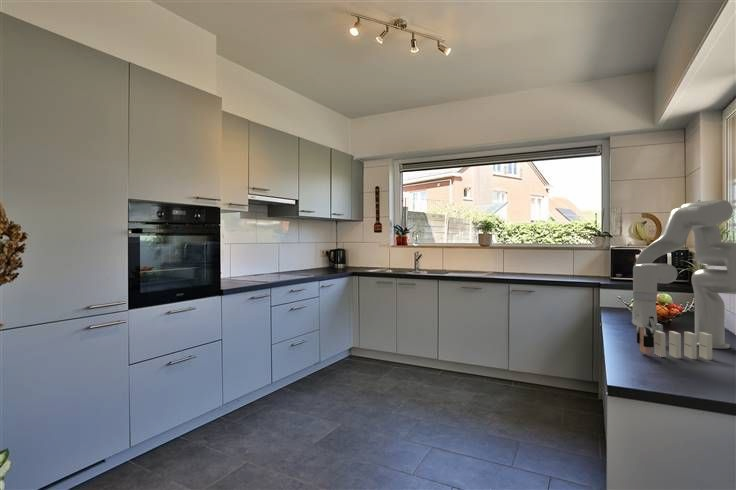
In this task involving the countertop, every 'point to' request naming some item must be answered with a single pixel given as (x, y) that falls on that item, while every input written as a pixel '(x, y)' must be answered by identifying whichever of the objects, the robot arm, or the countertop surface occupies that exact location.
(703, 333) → the domino
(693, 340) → the domino
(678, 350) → the domino
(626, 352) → the countertop surface
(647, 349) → the domino
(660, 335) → the domino
